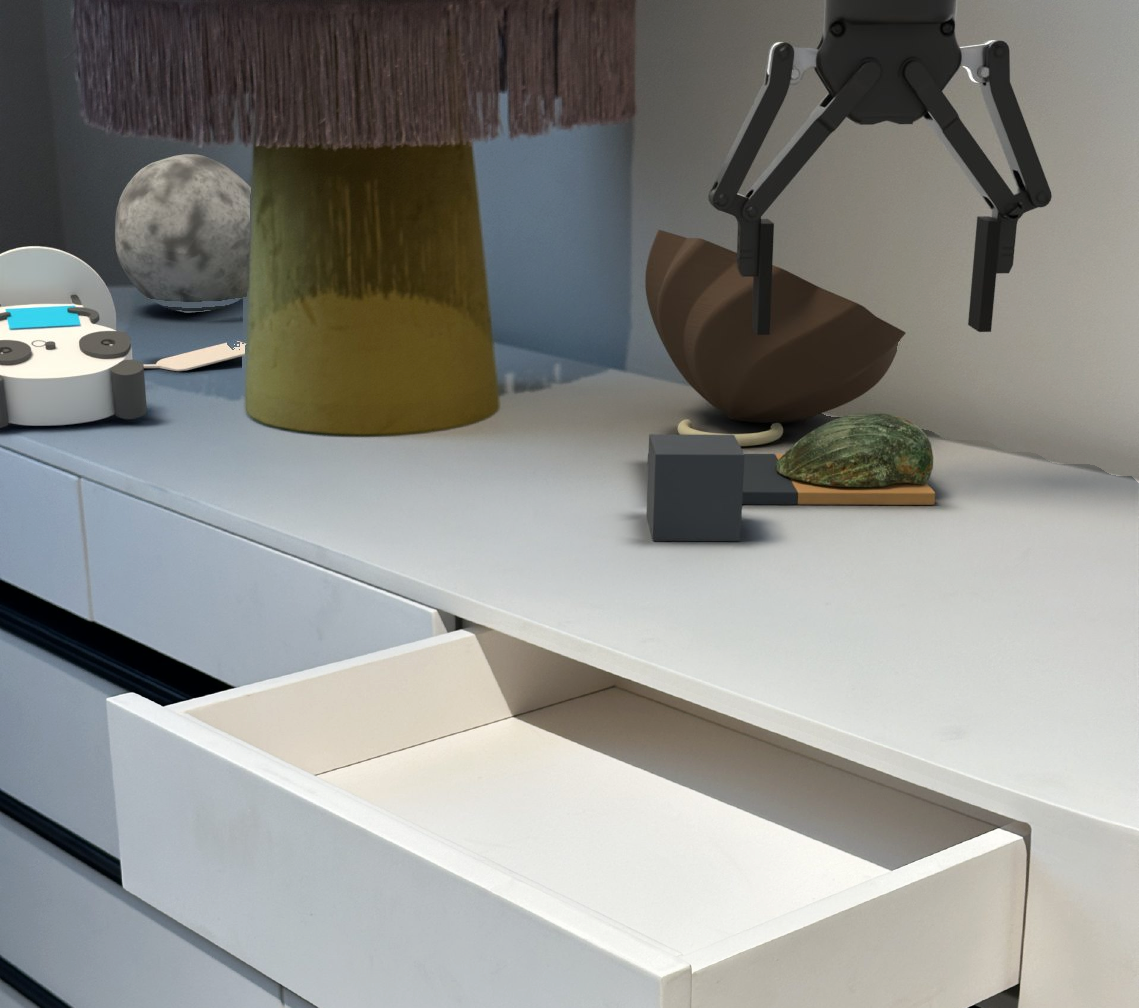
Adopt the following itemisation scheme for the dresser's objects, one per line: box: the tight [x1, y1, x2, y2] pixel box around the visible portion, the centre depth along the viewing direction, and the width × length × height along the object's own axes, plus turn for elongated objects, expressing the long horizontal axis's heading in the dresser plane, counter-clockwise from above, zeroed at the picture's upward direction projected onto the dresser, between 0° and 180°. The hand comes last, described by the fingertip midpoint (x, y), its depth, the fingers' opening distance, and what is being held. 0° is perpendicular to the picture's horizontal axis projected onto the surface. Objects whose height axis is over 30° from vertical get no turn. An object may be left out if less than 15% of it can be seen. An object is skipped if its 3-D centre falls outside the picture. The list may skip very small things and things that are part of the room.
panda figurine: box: [0, 245, 148, 429], centre depth 124 cm, size 12×11×15 cm
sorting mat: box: [742, 453, 936, 506], centre depth 108 cm, size 17×10×1 cm, turn 92°
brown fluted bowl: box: [644, 229, 907, 424], centre depth 122 cm, size 19×20×10 cm
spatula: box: [143, 340, 247, 372], centre depth 138 cm, size 6×29×2 cm, turn 121°
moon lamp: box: [114, 153, 252, 311], centre depth 165 cm, size 15×16×15 cm
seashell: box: [775, 412, 934, 487], centre depth 107 cm, size 10×4×10 cm
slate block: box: [646, 433, 745, 542], centre depth 97 cm, size 5×5×5 cm
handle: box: [677, 418, 784, 447], centre depth 119 cm, size 8×1×5 cm
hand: (870, 330), depth 104 cm, fingers open, 13 cm apart
